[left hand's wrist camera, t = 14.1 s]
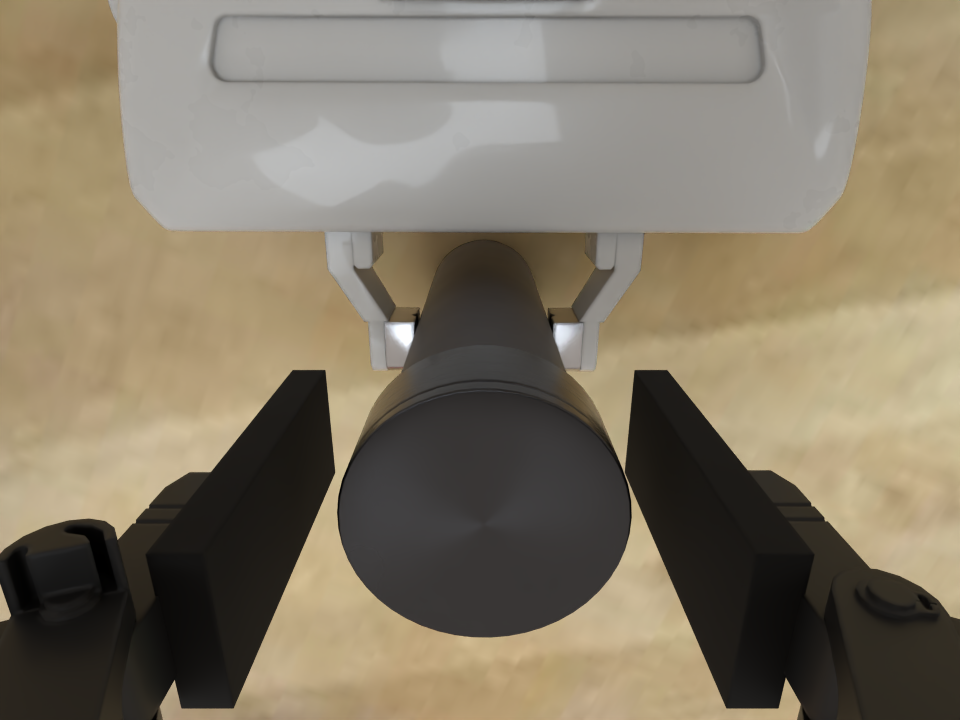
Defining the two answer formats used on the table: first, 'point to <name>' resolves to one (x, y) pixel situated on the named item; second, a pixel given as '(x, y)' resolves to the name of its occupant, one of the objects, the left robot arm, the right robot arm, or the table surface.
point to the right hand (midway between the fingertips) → (484, 365)
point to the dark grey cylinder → (483, 305)
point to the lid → (484, 494)
